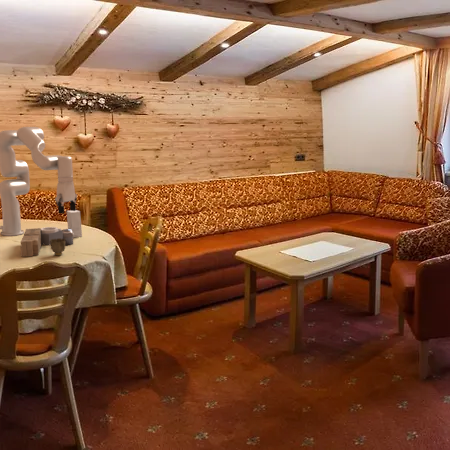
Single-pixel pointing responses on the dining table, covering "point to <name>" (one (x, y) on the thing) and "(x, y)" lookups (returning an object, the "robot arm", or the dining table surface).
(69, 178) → the robot arm
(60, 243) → the cup
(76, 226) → the skincare box
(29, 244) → the block tower
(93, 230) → the dining table surface
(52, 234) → the camera body
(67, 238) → the lens
